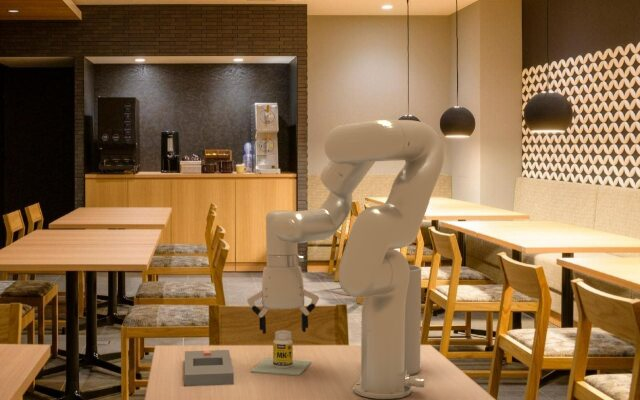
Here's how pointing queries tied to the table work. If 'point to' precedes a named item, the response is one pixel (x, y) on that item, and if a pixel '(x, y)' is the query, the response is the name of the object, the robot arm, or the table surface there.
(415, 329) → the cylinder vase
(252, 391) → the table surface
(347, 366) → the table surface
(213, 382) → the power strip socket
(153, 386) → the table surface
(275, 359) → the supplement bottle
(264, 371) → the rubber mat
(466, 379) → the table surface
